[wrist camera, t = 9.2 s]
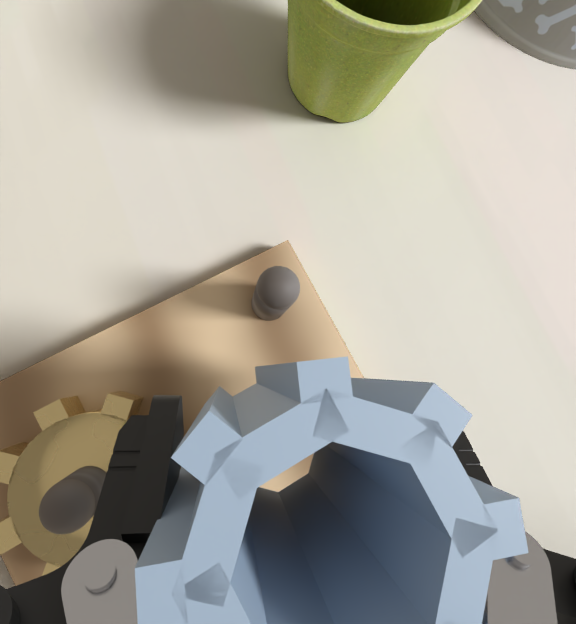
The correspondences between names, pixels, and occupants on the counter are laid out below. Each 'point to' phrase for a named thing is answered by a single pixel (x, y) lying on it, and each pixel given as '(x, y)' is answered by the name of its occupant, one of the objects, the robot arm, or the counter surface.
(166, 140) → the counter surface
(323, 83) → the plant pot
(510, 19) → the dog bowl
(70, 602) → the robot arm
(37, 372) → the gear board
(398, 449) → the pinion
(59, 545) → the gear
